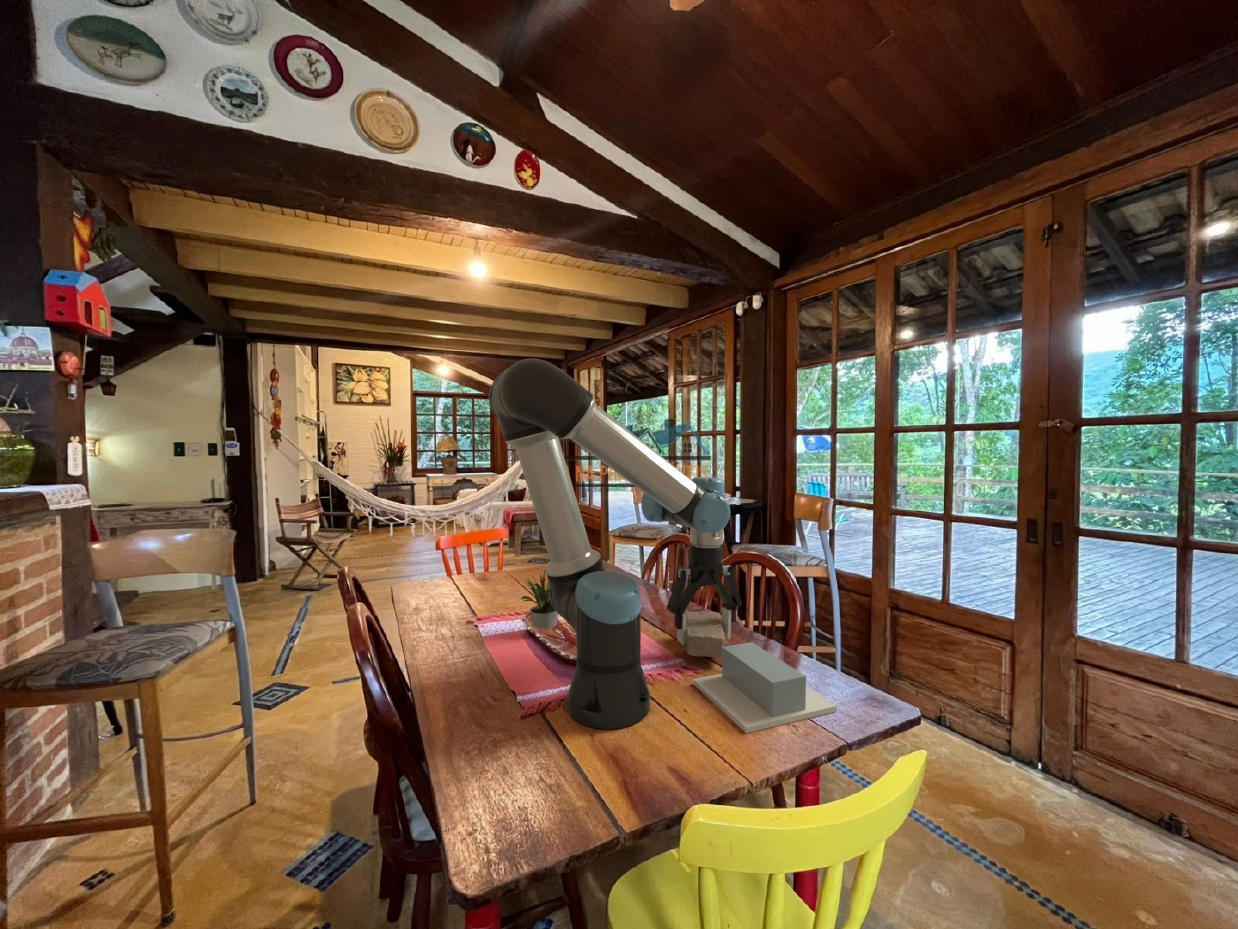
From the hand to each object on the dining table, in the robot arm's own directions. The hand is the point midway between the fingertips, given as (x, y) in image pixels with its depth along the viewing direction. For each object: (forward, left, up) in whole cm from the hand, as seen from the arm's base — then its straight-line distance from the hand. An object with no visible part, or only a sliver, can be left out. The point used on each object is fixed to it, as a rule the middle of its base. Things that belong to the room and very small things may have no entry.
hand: (704, 639), depth 115 cm
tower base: (0, -22, -3) cm, 22 cm away
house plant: (-33, +23, -3) cm, 41 cm away
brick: (0, 0, -1) cm, 1 cm away
